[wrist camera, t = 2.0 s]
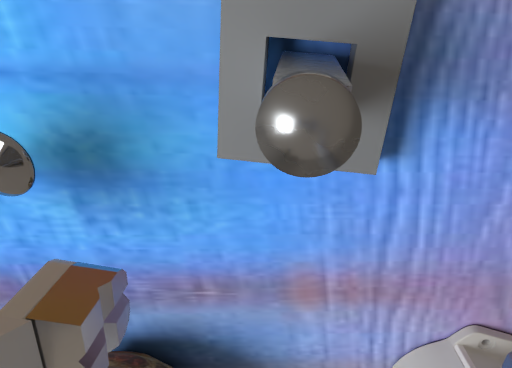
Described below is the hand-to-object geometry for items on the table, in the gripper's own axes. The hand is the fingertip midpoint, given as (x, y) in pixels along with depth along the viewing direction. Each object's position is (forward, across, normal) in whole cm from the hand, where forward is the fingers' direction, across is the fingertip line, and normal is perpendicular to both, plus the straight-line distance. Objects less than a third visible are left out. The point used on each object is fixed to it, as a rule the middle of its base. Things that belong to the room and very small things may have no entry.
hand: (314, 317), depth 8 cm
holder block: (+26, 0, 0) cm, 26 cm away
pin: (+26, 0, 0) cm, 26 cm away
